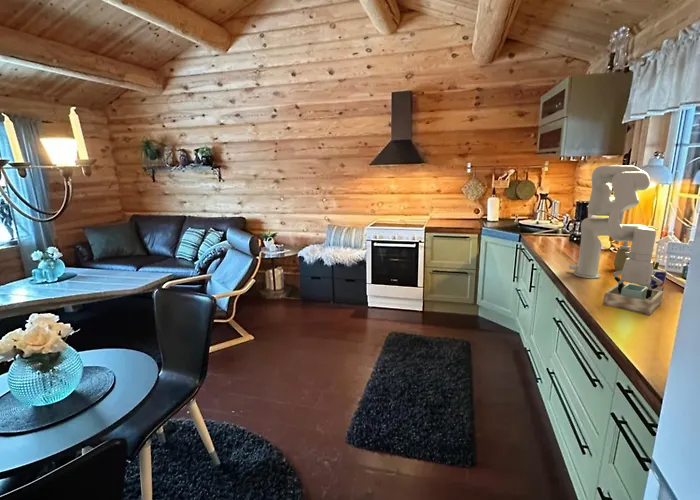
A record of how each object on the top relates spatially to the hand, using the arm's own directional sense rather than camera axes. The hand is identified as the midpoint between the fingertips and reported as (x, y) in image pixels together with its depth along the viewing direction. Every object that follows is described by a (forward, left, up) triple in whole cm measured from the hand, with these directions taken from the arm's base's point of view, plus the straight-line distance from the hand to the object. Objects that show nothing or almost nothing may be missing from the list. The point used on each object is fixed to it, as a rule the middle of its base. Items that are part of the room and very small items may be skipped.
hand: (633, 295), depth 165 cm
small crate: (0, 0, -3) cm, 3 cm away
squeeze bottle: (-18, +56, -4) cm, 59 cm away
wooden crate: (0, 0, -4) cm, 4 cm away
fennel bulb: (-2, +38, -4) cm, 38 cm away
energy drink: (+4, +20, -4) cm, 21 cm away
